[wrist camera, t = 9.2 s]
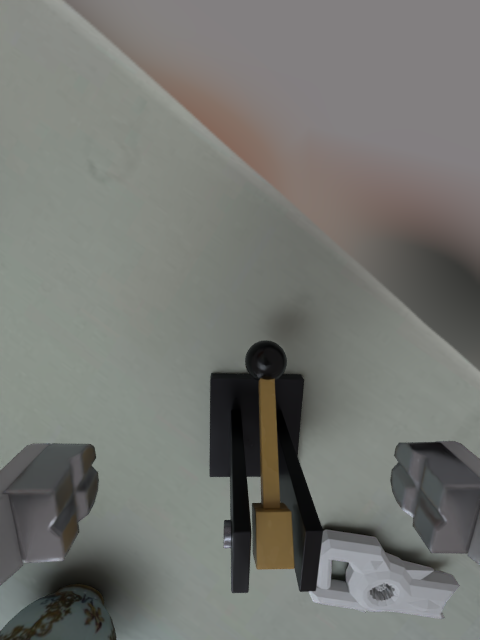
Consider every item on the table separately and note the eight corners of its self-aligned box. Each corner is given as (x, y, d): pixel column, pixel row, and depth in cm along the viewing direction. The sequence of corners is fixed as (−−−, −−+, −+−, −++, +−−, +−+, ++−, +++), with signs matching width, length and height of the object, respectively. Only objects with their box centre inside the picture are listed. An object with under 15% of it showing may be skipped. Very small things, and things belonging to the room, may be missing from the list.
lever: (243, 346, 24) (246, 334, 21) (281, 347, 24) (289, 335, 21) (244, 551, 19) (248, 573, 16) (292, 550, 19) (305, 571, 16)
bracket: (211, 373, 28) (196, 481, 15) (301, 374, 29) (366, 480, 15) (210, 468, 31) (196, 636, 17) (293, 468, 31) (343, 631, 18)
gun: (479, 571, 30) (448, 637, 33) (456, 540, 34) (429, 601, 36) (313, 547, 30) (293, 615, 32) (306, 517, 33) (289, 581, 36)
